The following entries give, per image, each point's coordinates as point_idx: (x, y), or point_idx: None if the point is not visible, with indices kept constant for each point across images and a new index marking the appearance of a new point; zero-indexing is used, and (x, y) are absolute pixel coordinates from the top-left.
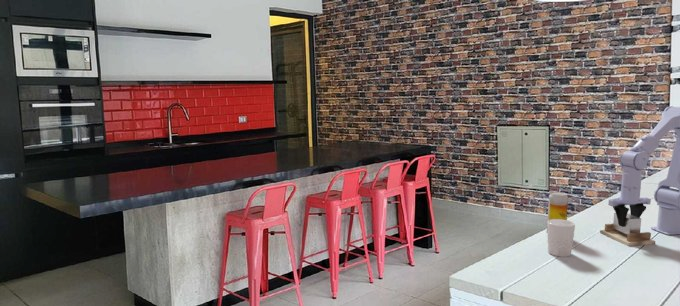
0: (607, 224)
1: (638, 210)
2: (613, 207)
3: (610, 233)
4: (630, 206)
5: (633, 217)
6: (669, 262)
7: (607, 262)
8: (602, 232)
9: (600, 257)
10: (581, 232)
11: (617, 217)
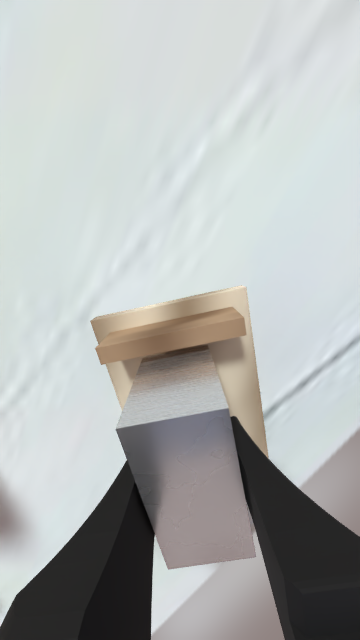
0: (107, 356)
1: (281, 618)
2: (29, 593)
3: (124, 372)
4: (275, 562)
5: (212, 539)
6: (200, 572)
7: (28, 575)
8: (99, 337)
9: (18, 549)
10: (4, 308)
11: (118, 478)
